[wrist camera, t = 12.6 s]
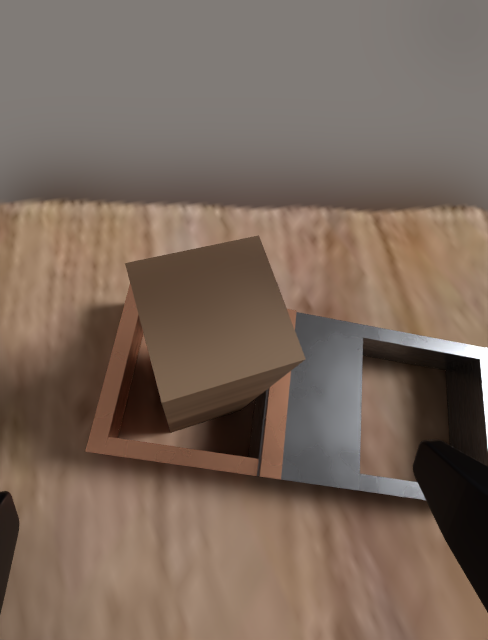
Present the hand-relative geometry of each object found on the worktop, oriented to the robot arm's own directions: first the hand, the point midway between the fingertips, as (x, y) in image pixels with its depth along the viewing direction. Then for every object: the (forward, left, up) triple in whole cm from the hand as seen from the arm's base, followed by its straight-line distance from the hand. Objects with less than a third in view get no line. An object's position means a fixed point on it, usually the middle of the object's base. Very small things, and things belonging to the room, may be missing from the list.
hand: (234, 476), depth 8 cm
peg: (+4, +1, -13) cm, 14 cm away
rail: (+4, -5, -13) cm, 14 cm away
